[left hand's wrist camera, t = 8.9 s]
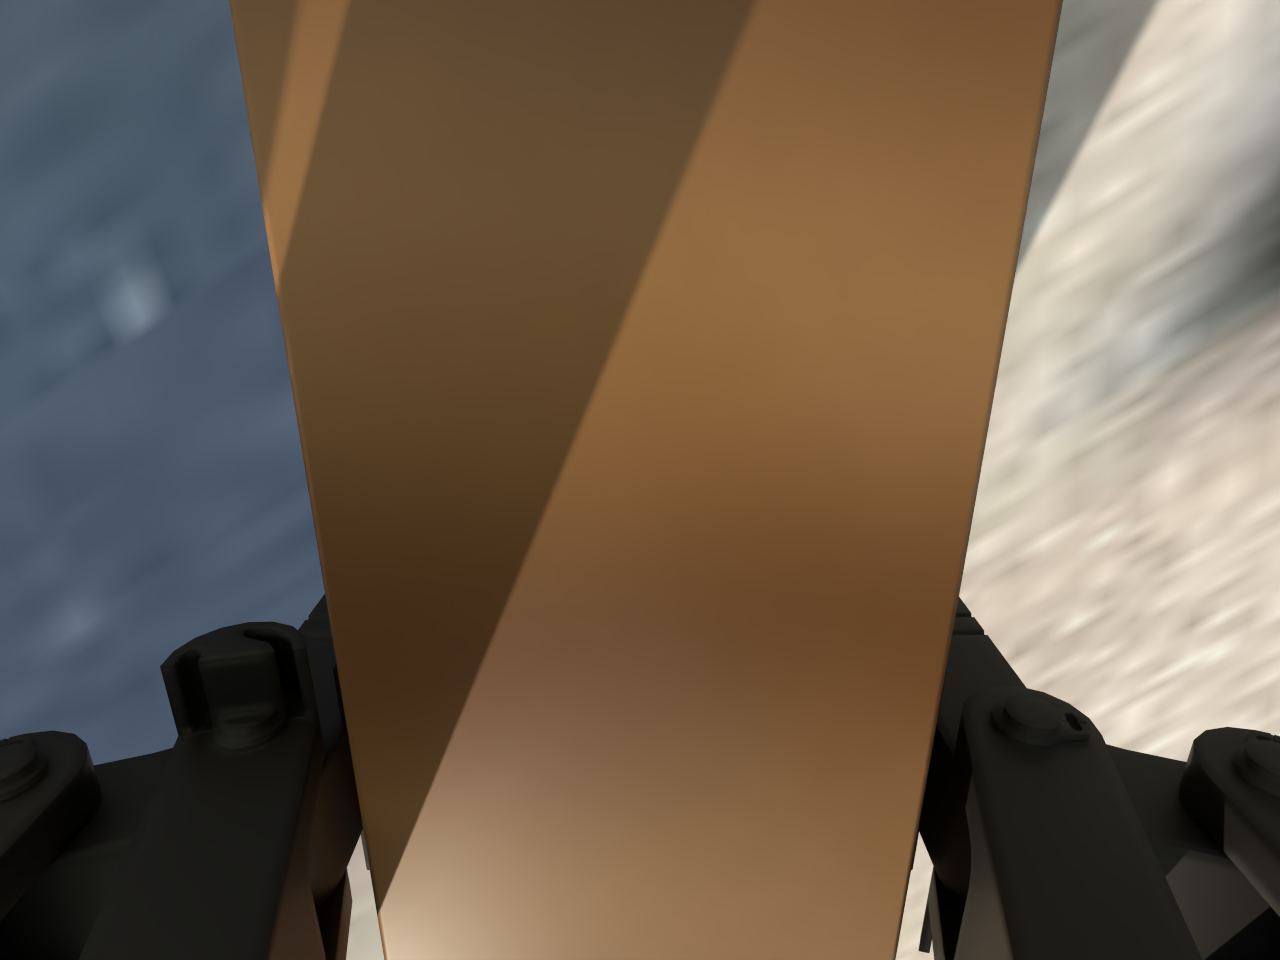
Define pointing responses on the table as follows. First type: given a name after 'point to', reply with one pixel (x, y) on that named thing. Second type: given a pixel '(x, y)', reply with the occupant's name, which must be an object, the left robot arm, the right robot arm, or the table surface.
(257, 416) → the table surface
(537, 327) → the bar
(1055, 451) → the table surface
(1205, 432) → the table surface
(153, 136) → the table surface
